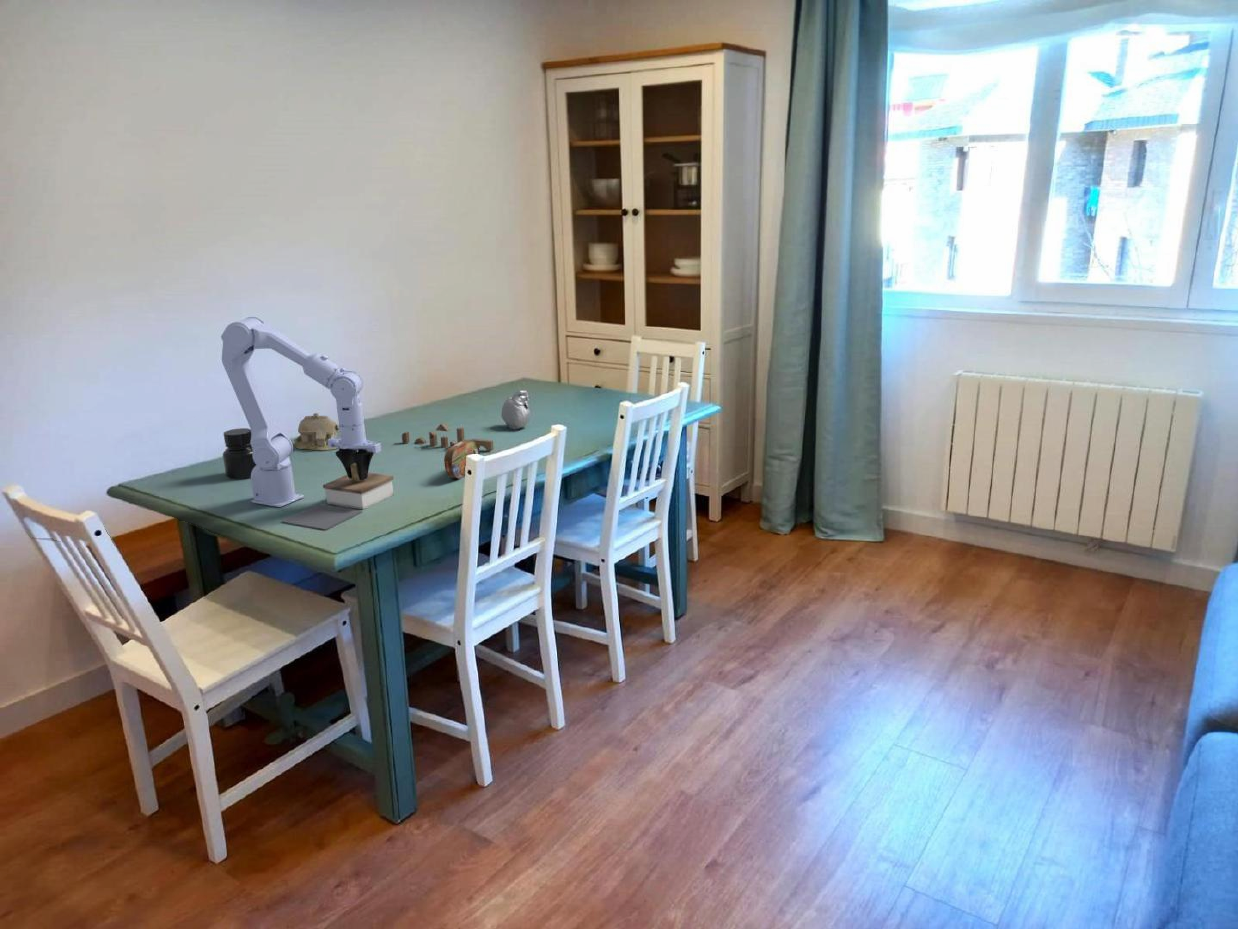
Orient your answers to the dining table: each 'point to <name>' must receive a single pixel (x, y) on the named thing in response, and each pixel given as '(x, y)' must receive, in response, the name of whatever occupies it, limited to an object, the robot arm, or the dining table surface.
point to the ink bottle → (238, 453)
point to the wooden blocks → (444, 440)
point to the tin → (459, 457)
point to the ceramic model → (316, 432)
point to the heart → (516, 410)
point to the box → (359, 497)
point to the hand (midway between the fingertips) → (358, 478)
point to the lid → (357, 482)
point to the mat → (322, 517)
